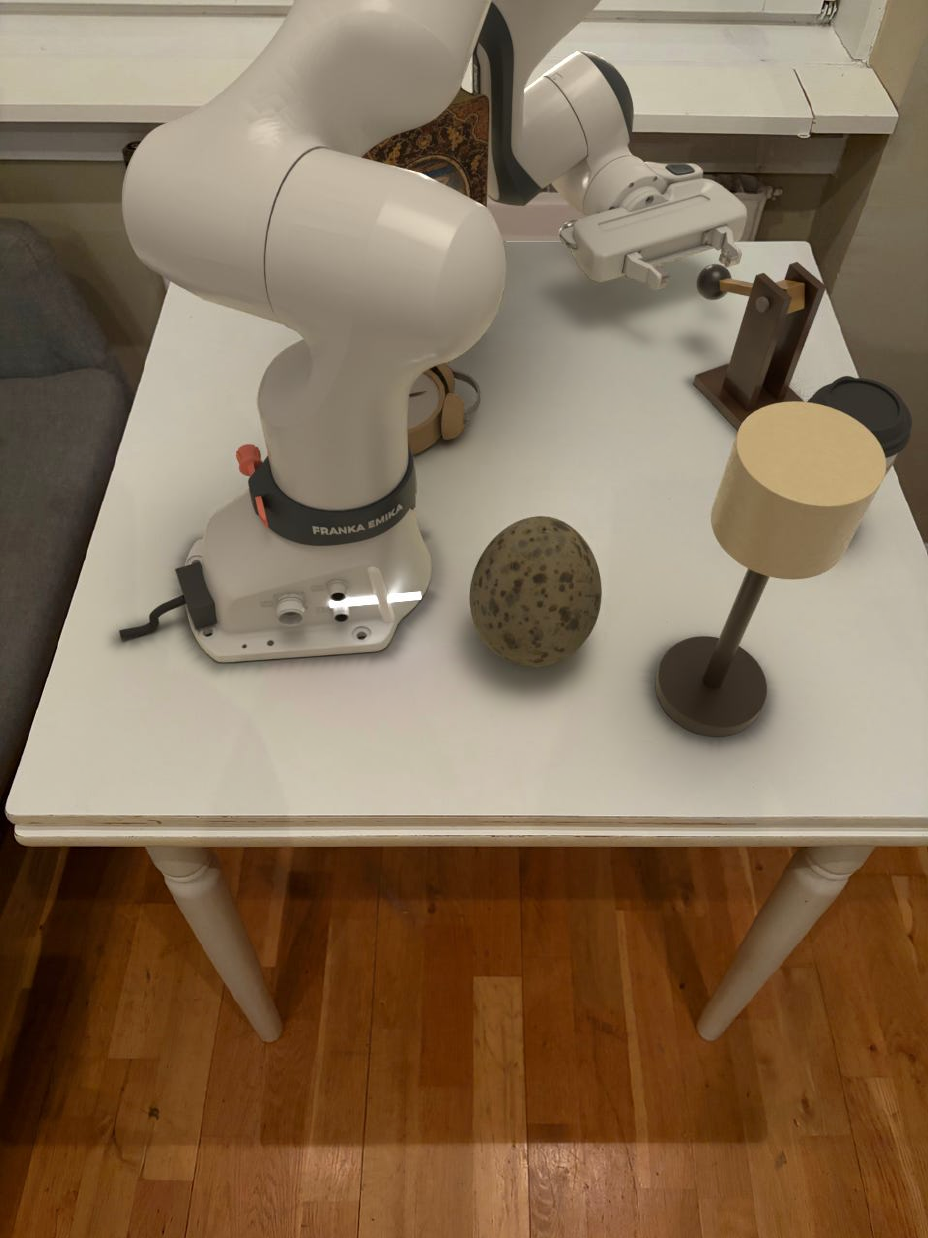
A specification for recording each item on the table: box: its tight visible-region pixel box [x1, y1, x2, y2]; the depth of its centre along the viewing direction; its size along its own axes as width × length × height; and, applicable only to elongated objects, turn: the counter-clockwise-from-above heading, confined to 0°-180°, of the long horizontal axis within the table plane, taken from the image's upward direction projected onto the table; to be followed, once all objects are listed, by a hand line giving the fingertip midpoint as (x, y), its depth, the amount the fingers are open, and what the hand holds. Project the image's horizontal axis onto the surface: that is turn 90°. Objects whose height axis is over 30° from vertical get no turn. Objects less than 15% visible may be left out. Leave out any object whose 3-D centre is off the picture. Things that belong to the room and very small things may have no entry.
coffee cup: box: [806, 375, 913, 477], centre depth 86 cm, size 9×9×15 cm
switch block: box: [692, 261, 827, 431], centre depth 96 cm, size 10×8×15 cm
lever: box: [696, 263, 805, 314], centre depth 96 cm, size 14×4×4 cm, turn 27°
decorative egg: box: [468, 515, 603, 667], centre depth 77 cm, size 11×11×15 cm
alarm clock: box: [408, 362, 481, 455], centre depth 98 cm, size 11×5×15 cm
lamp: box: [654, 401, 886, 738], centre depth 69 cm, size 9×9×28 cm
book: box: [361, 83, 489, 208], centre depth 98 cm, size 16×6×25 cm, turn 122°
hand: (699, 271), depth 101 cm, fingers open, 8 cm apart
